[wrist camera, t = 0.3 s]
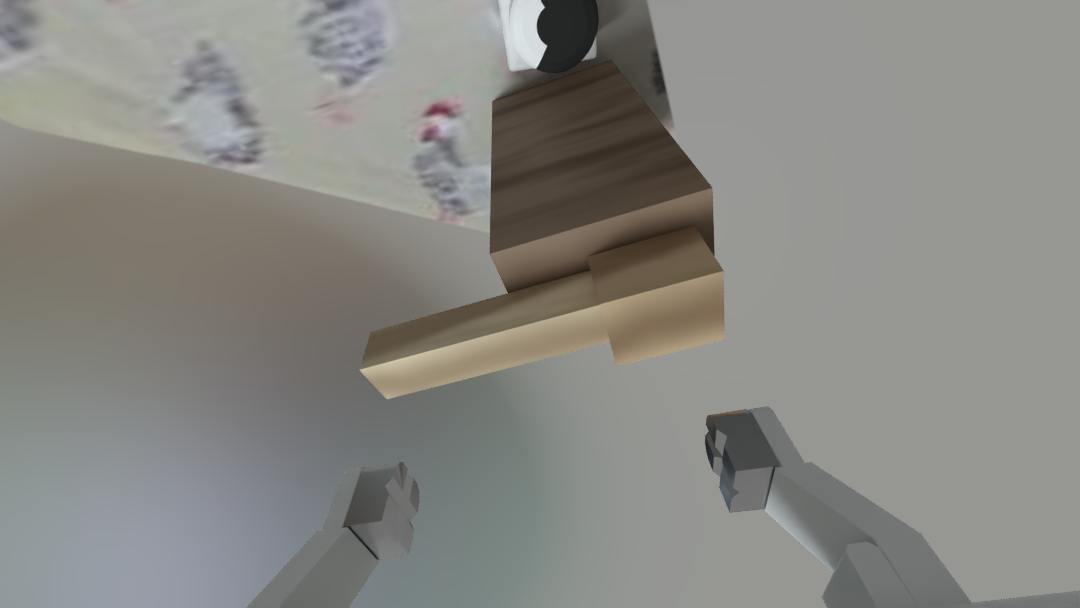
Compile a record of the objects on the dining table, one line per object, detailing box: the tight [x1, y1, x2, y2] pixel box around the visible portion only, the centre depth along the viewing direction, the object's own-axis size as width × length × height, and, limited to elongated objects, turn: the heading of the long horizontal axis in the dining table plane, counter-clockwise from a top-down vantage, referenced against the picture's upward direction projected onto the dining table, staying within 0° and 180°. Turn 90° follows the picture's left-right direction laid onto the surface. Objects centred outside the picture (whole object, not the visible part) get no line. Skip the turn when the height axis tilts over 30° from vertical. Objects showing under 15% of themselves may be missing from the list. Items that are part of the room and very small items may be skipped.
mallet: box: [360, 226, 724, 399], centre depth 25 cm, size 5×20×4 cm, turn 107°
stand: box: [490, 60, 714, 293], centre depth 35 cm, size 9×12×26 cm
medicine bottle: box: [498, 0, 598, 73], centre depth 33 cm, size 7×7×12 cm
